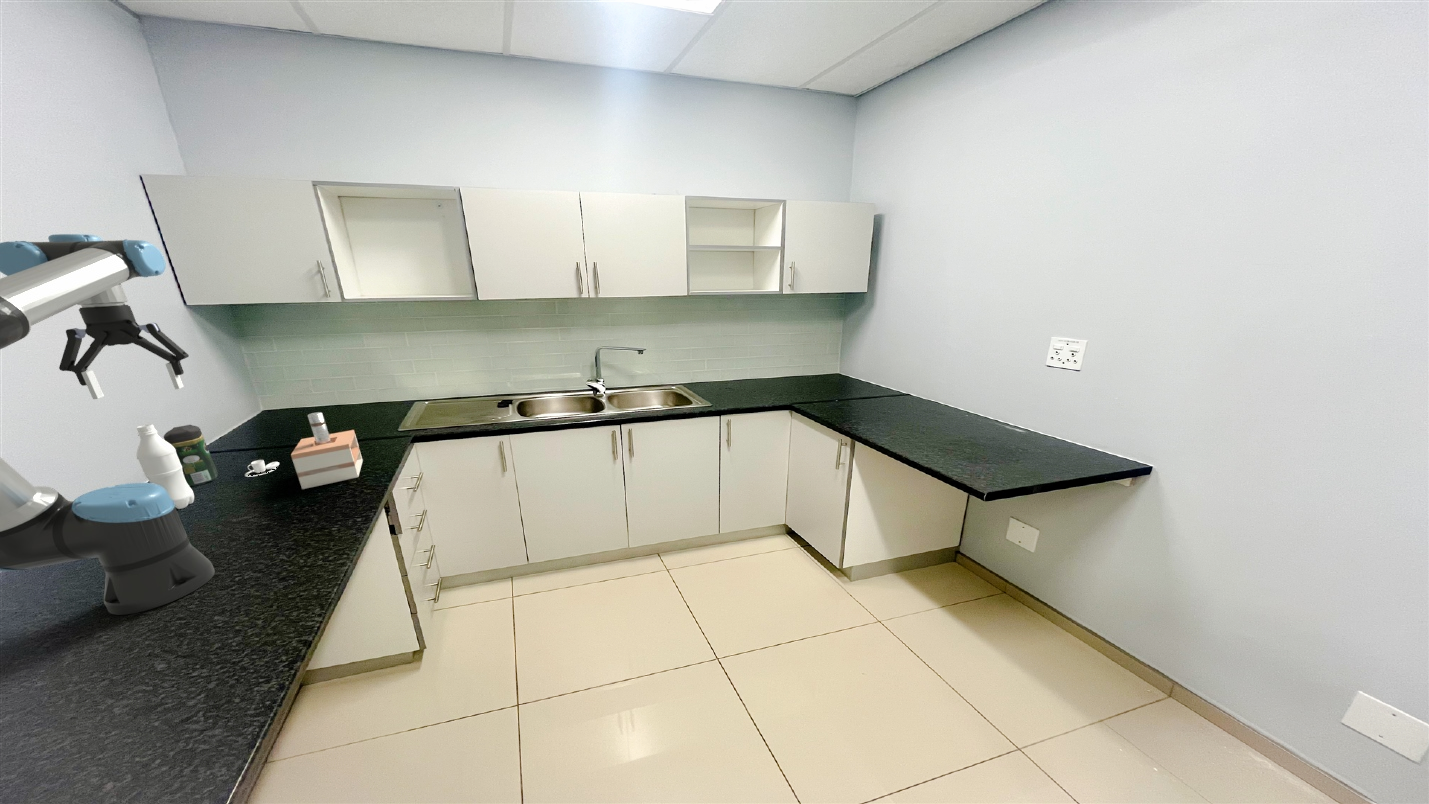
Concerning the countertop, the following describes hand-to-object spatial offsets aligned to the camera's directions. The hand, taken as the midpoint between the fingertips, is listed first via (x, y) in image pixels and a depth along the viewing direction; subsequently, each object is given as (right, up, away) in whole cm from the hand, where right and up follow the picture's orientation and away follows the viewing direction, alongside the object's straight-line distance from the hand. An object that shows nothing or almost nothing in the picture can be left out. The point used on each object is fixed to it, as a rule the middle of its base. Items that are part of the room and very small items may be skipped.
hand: (140, 393), depth 114 cm
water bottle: (-14, -33, +21) cm, 41 cm away
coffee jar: (-26, -28, +37) cm, 54 cm away
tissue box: (+16, -26, +39) cm, 49 cm away
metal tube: (+16, -25, +38) cm, 48 cm away
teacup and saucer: (-9, -26, +43) cm, 52 cm away
